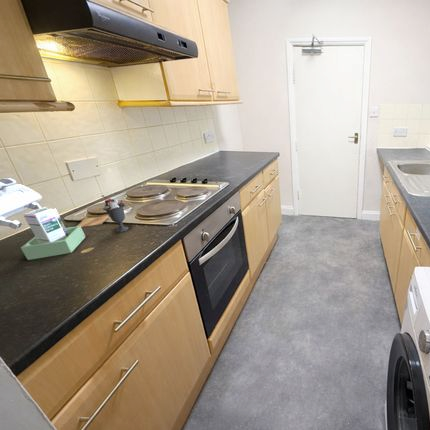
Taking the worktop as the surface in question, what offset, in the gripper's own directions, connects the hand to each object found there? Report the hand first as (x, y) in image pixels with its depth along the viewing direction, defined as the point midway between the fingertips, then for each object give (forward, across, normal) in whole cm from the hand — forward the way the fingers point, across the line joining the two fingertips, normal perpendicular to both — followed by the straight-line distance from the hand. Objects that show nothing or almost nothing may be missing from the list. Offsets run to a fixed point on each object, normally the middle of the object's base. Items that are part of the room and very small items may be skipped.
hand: (32, 220), depth 86 cm
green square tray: (+10, +1, +6) cm, 12 cm away
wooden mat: (+9, +22, +7) cm, 25 cm away
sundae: (+21, +12, -4) cm, 24 cm away
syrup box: (+10, +1, +6) cm, 12 cm away
